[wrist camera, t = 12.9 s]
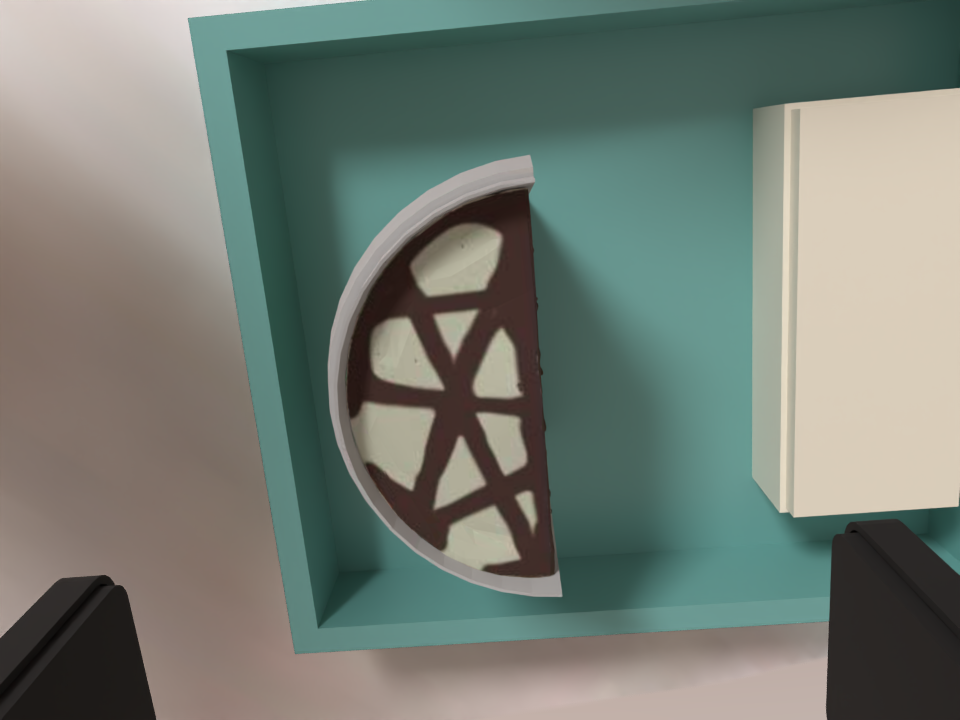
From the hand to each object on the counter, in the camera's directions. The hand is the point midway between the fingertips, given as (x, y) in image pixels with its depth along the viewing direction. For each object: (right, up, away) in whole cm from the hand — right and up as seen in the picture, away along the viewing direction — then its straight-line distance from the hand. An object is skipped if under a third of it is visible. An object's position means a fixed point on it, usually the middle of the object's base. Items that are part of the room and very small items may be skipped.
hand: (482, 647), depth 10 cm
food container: (-1, +5, +20) cm, 21 cm away
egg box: (+13, +6, +19) cm, 24 cm away
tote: (+5, +6, +20) cm, 22 cm away
